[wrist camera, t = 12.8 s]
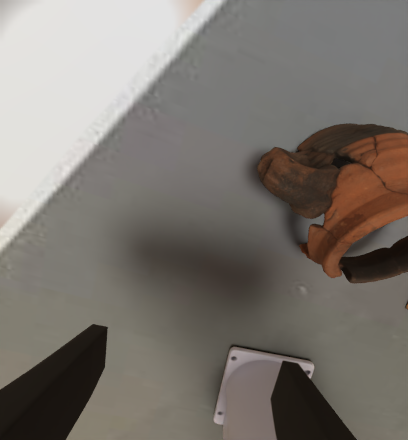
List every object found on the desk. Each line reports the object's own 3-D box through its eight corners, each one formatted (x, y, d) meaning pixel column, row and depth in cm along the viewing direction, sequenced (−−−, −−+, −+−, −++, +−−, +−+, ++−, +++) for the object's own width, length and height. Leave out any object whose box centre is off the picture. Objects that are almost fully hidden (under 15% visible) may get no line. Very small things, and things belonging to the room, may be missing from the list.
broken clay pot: (413, 131, 15) (562, 199, 9) (326, 222, 21) (383, 299, 15) (270, 75, 12) (353, 122, 6) (217, 199, 18) (233, 284, 12)
